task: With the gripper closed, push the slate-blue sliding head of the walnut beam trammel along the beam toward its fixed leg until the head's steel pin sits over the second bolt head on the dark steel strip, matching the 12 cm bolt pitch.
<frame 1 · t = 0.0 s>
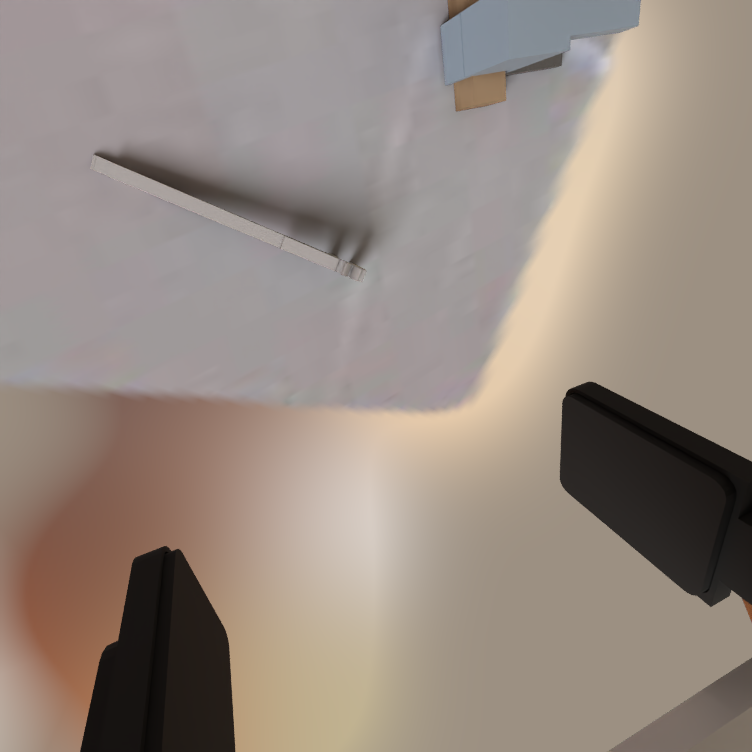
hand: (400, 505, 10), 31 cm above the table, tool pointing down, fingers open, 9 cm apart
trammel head: (534, 32, 33), point 5 cm above the table, slide at 0.0 cm
caliper: (239, 222, 35), on the table
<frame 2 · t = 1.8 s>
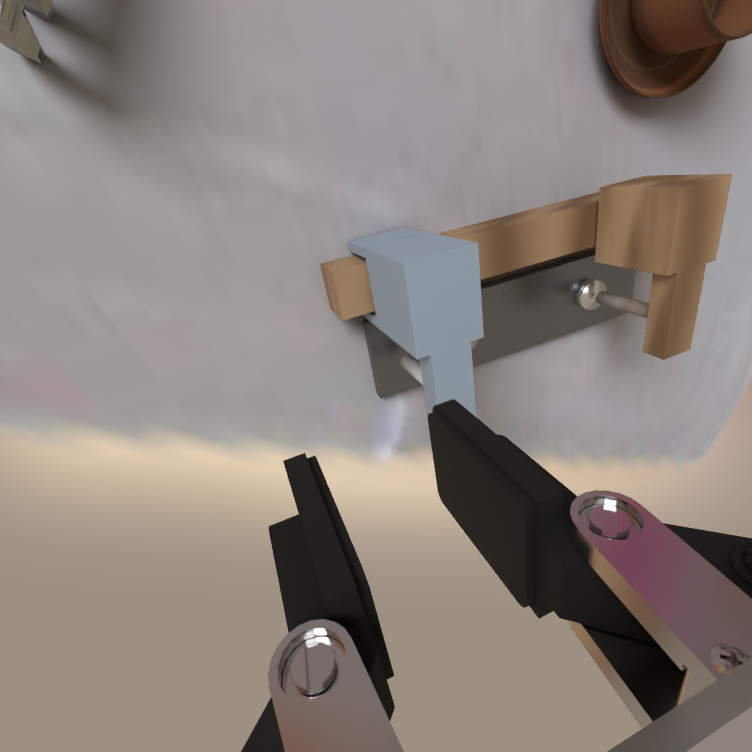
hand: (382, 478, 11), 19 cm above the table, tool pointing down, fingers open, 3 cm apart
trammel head: (416, 332, 26), point 5 cm above the table, slide at 0.0 cm
bolt plate: (508, 314, 34), on the table
beam: (482, 243, 31), on the table
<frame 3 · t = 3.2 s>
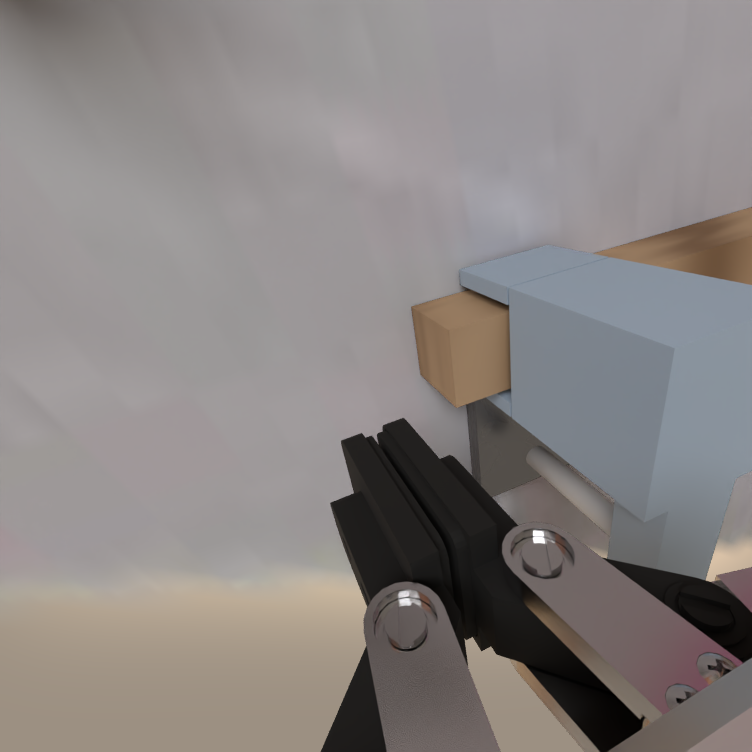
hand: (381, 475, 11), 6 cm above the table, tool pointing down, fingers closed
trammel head: (580, 428, 15), point 5 cm above the table, slide at 0.0 cm
bolt plate: (665, 369, 23), on the table
beam: (651, 268, 20), on the table
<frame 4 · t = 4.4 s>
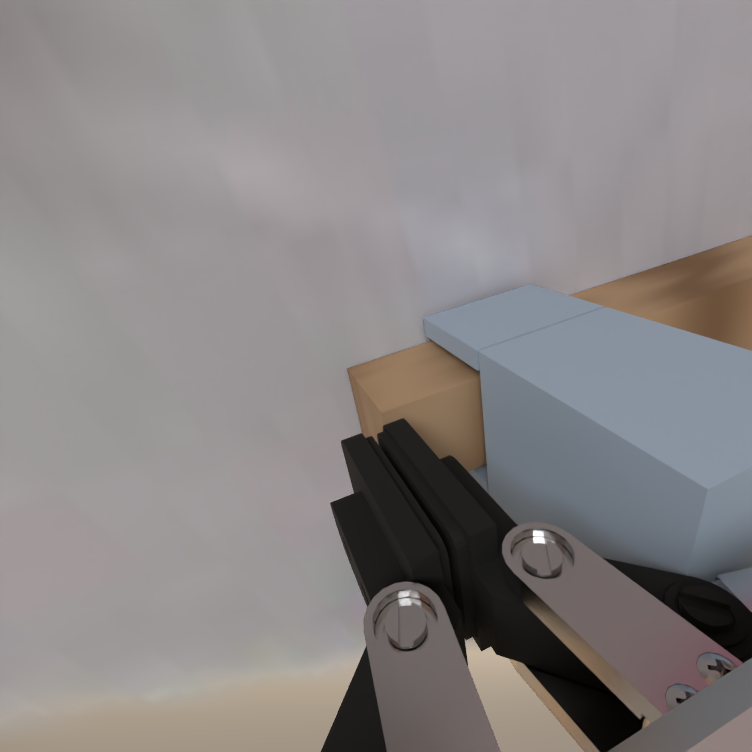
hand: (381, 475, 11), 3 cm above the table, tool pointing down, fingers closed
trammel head: (573, 513, 13), point 5 cm above the table, slide at 0.6 cm, touching gripper
beam: (639, 308, 17), on the table
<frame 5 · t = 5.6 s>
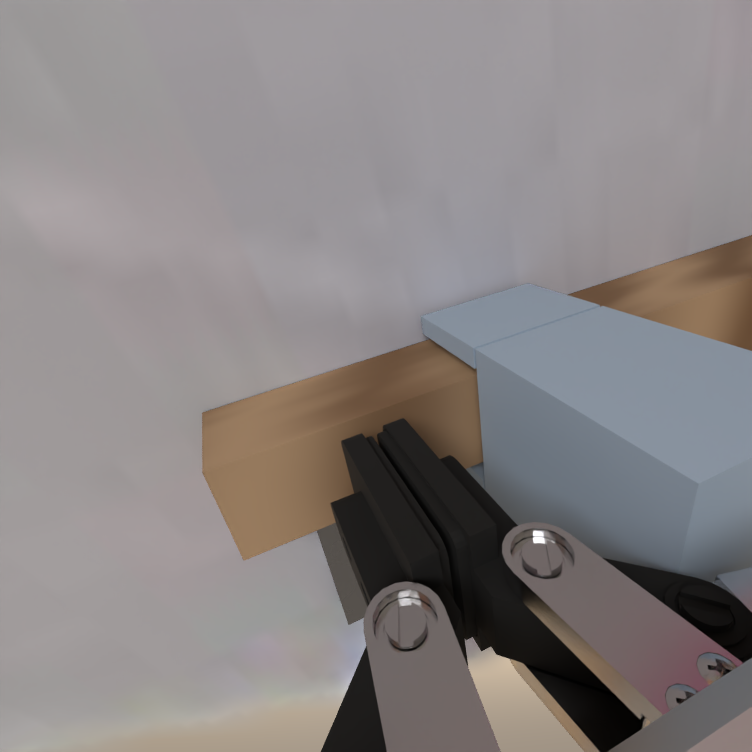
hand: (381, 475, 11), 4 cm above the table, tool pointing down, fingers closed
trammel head: (569, 511, 13), point 5 cm above the table, slide at 5.0 cm, touching gripper
bolt plate: (580, 449, 19), on the table
beam: (545, 340, 16), on the table
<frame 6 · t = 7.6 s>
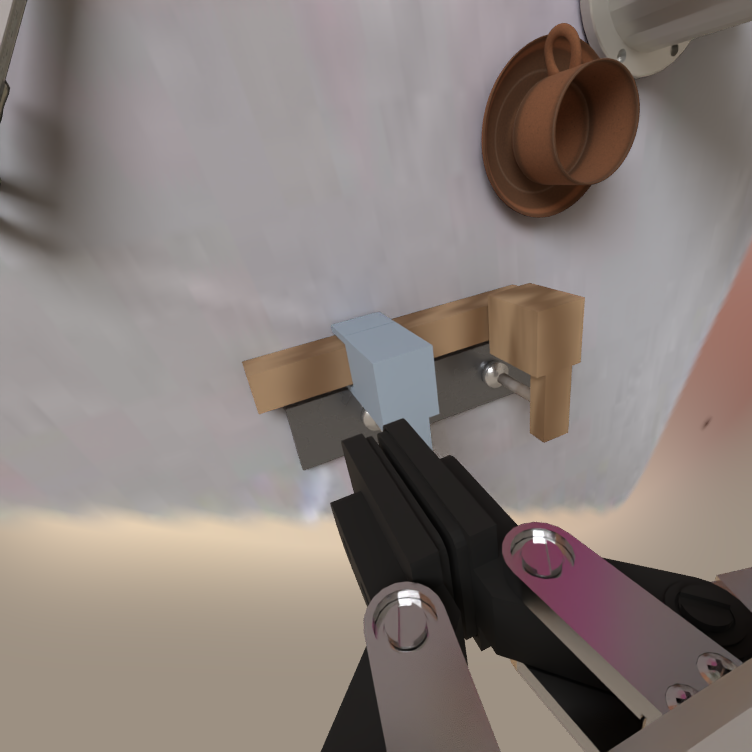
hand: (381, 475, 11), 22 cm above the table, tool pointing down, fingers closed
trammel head: (387, 402, 32), point 5 cm above the table, slide at 5.0 cm
cup and saucer: (532, 135, 34), on the table
caliper: (24, 16, 21), on the table
bolt plate: (421, 392, 39), on the table
beam: (392, 336, 35), on the table
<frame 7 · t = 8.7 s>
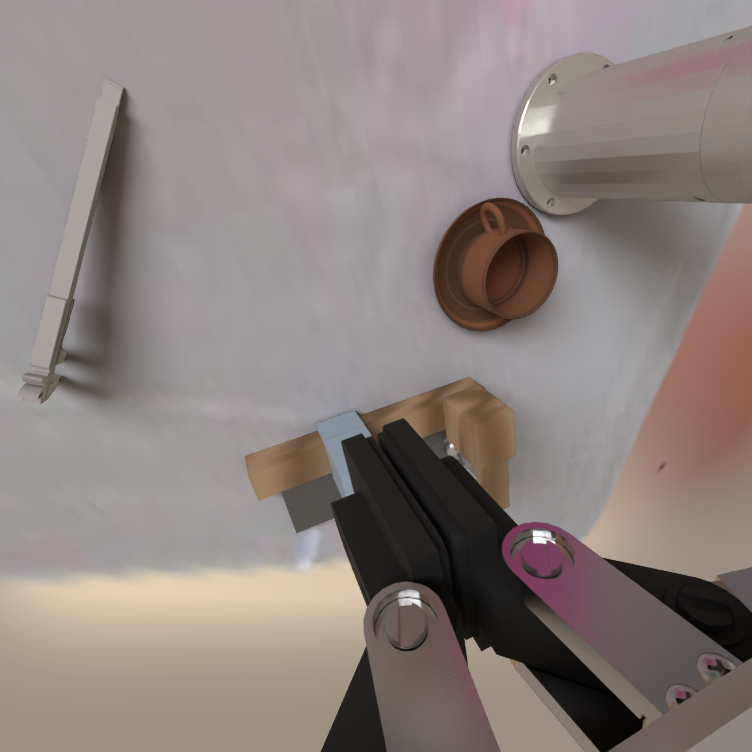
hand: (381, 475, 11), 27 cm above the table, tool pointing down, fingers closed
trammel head: (360, 487, 40), point 5 cm above the table, slide at 5.0 cm
cup and saucer: (480, 264, 41), on the table
caliper: (82, 243, 30), on the table
bolt plate: (394, 465, 47), on the table
beam: (367, 426, 43), on the table
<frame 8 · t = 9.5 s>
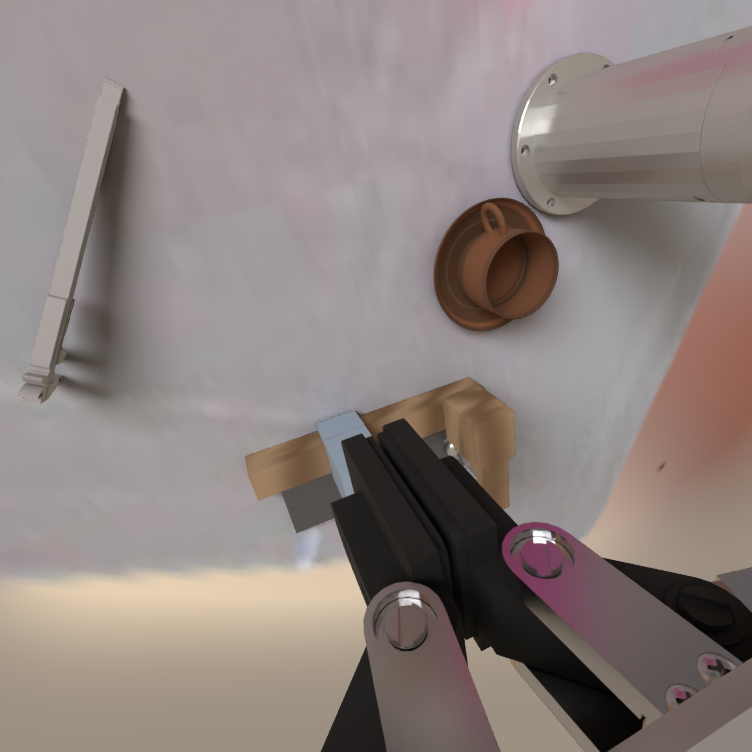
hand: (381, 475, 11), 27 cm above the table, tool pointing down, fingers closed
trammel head: (360, 487, 40), point 5 cm above the table, slide at 5.0 cm
cup and saucer: (480, 264, 41), on the table
caliper: (82, 243, 30), on the table
bolt plate: (394, 465, 47), on the table
beam: (367, 426, 43), on the table
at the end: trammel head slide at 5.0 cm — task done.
